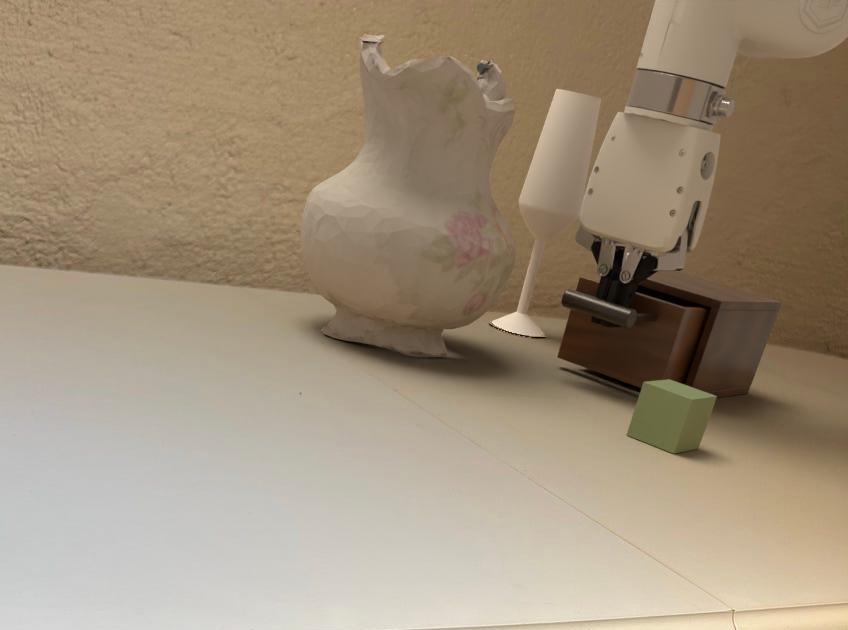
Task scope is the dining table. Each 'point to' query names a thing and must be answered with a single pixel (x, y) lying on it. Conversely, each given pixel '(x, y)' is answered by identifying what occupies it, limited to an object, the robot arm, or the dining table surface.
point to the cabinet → (723, 331)
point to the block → (671, 415)
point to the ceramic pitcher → (414, 207)
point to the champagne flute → (554, 187)
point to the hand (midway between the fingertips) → (606, 324)
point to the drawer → (632, 334)
